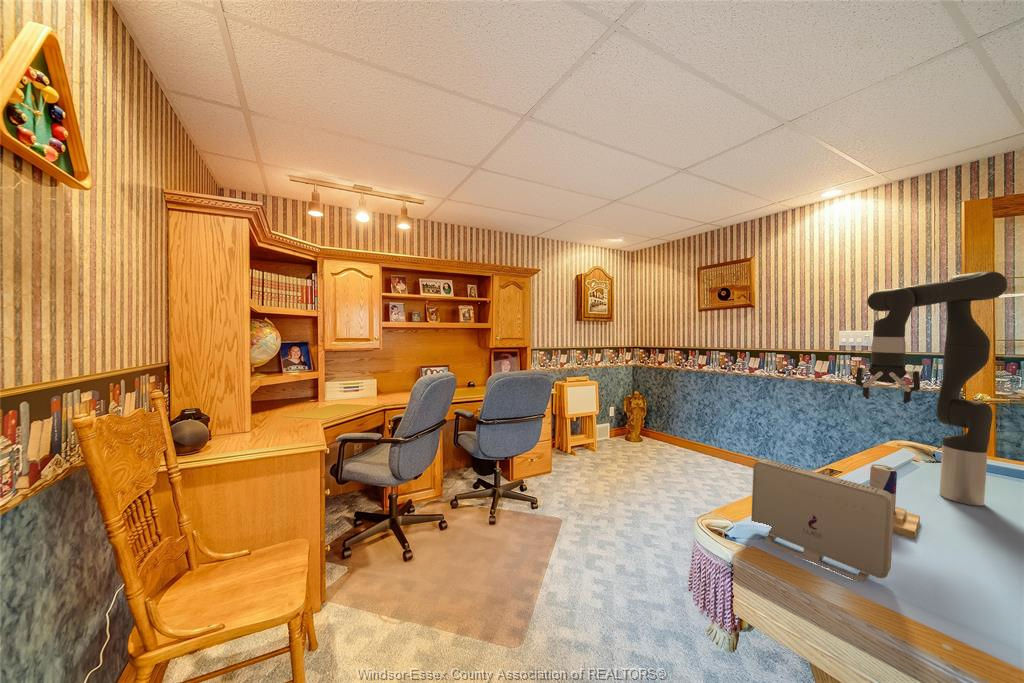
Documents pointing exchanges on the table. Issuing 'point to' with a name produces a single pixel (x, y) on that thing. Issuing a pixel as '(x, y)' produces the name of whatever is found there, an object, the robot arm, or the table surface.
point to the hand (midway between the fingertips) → (885, 400)
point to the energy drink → (884, 479)
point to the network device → (825, 517)
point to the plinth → (905, 523)
